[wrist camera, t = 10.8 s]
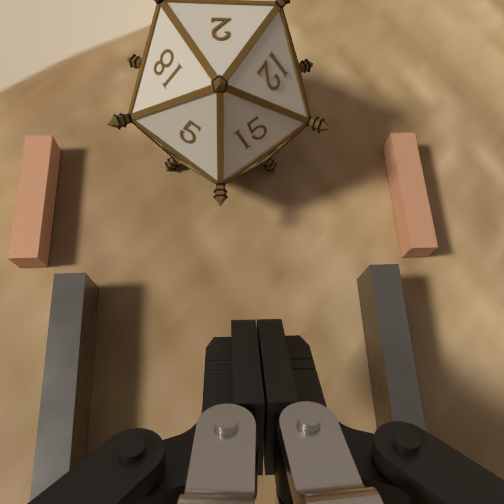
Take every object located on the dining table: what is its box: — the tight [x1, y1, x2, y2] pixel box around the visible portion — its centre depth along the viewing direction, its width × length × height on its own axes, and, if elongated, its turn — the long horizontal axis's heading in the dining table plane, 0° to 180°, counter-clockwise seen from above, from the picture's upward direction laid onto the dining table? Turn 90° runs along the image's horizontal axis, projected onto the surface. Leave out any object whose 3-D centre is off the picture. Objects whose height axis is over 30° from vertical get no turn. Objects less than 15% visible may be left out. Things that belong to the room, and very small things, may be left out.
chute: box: [30, 264, 427, 501], centre depth 17 cm, size 14×16×2 cm
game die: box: [107, 0, 330, 207], centre depth 19 cm, size 9×8×10 cm
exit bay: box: [8, 133, 438, 268], centre depth 21 cm, size 18×6×1 cm, turn 93°
